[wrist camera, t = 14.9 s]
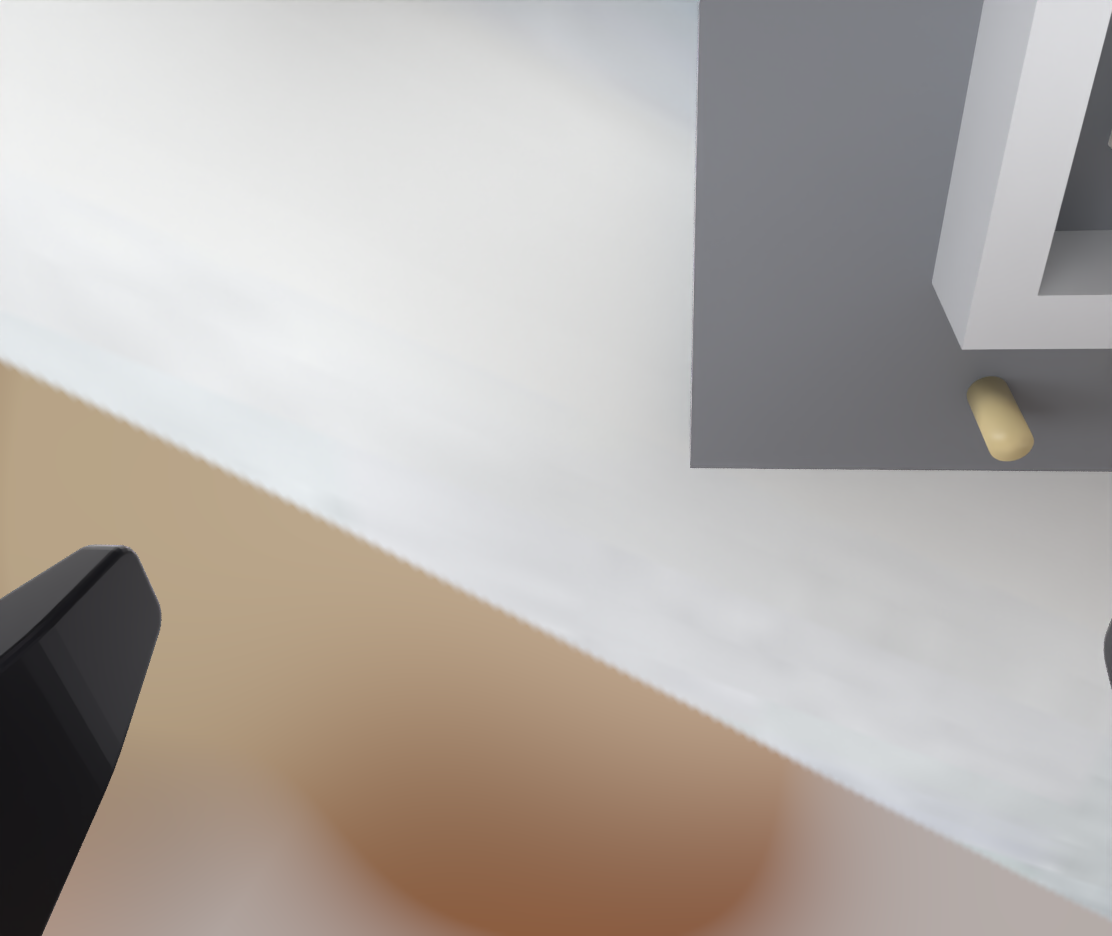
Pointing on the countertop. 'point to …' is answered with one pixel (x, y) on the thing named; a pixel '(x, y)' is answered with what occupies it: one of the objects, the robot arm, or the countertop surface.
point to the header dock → (903, 235)
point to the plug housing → (1110, 140)
